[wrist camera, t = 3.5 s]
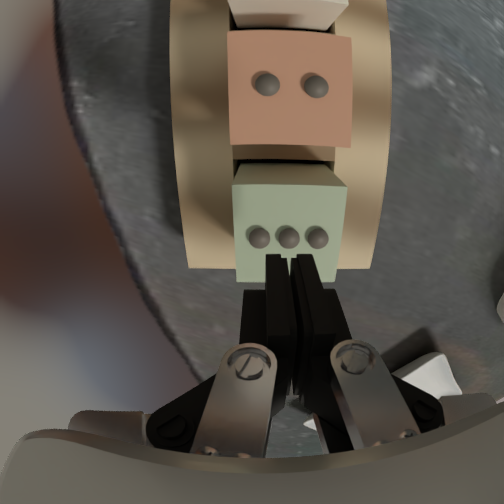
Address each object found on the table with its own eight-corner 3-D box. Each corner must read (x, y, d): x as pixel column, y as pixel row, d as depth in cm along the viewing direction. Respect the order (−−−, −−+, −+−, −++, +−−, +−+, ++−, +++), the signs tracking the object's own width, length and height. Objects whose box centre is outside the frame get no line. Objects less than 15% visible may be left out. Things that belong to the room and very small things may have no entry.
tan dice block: (238, 53, 13) (226, 30, 8) (326, 56, 13) (352, 36, 8) (239, 134, 15) (229, 145, 11) (326, 136, 15) (351, 148, 11)
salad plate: (361, 433, 41) (363, 448, 38) (298, 406, 34) (299, 426, 31) (457, 381, 34) (464, 396, 31) (432, 331, 27) (443, 351, 24)
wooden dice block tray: (185, -32, 10) (174, -48, 8) (364, -27, 10) (377, -42, 7) (197, 247, 22) (188, 267, 19) (358, 248, 21) (369, 268, 19)
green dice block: (240, 163, 16) (231, 185, 12) (325, 164, 16) (348, 188, 11) (243, 238, 19) (236, 284, 14) (319, 239, 19) (335, 284, 14)
